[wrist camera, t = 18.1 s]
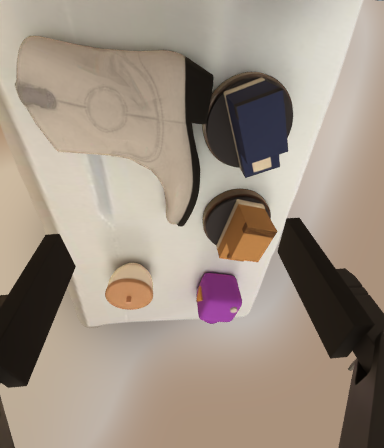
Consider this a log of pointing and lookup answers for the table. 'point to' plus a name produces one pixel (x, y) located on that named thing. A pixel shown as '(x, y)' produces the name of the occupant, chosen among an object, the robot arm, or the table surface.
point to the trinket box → (130, 287)
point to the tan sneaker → (240, 229)
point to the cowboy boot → (120, 108)
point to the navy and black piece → (250, 125)
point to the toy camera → (218, 298)
